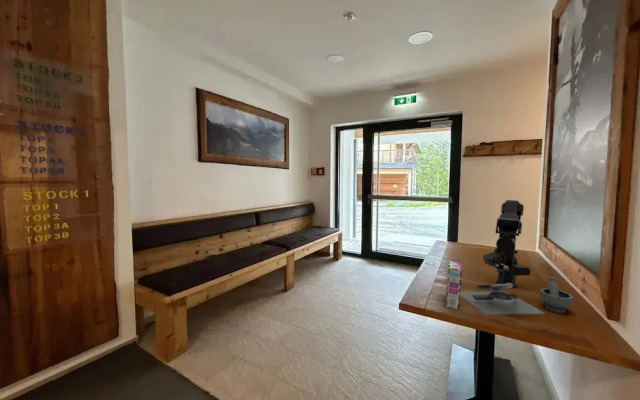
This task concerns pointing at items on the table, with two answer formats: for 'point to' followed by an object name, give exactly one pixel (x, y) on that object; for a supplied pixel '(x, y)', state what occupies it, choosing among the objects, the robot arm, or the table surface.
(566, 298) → the mortar and pestle
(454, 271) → the candy bar box
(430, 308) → the table surface
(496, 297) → the cooker pot
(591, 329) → the table surface
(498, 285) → the lid
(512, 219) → the robot arm
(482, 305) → the slate board
